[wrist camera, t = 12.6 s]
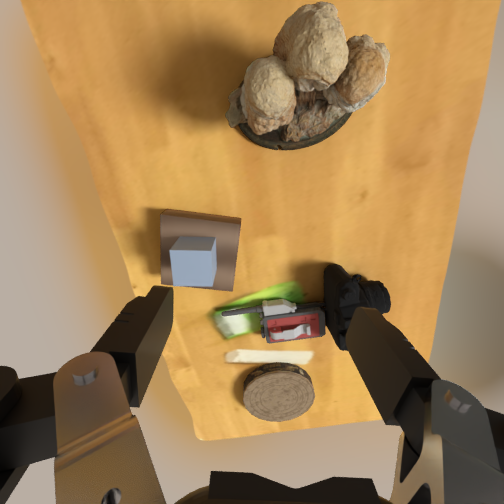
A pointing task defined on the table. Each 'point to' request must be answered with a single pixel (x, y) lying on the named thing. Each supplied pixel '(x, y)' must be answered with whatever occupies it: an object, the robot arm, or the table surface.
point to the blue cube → (193, 261)
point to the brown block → (201, 226)
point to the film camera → (349, 300)
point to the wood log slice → (278, 392)
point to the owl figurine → (307, 81)
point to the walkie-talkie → (287, 320)
